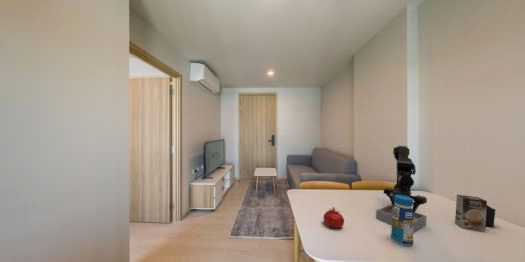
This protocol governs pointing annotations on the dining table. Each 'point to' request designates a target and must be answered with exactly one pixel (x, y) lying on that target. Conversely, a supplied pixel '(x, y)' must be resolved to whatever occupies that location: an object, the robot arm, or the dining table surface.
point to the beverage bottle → (402, 220)
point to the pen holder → (490, 216)
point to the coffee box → (471, 213)
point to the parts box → (385, 216)
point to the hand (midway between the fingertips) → (403, 210)
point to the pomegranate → (333, 218)
